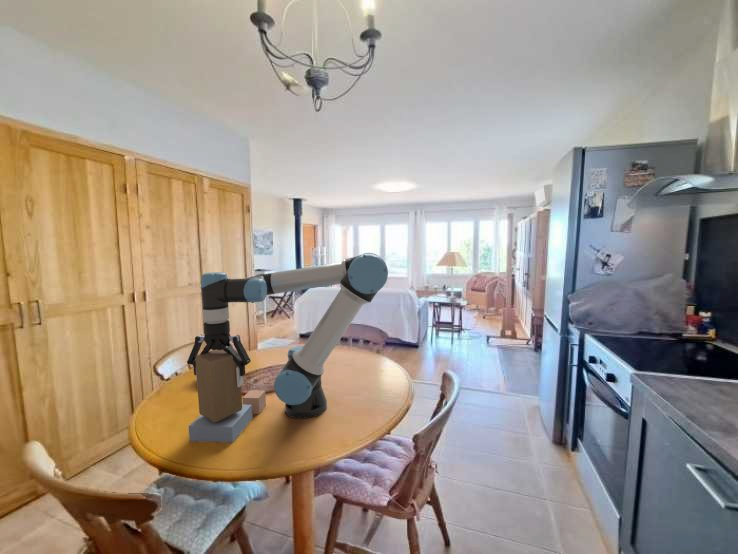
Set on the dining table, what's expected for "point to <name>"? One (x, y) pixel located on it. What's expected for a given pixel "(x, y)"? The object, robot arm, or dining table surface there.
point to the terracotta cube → (255, 400)
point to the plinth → (220, 427)
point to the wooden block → (217, 385)
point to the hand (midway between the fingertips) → (220, 385)
